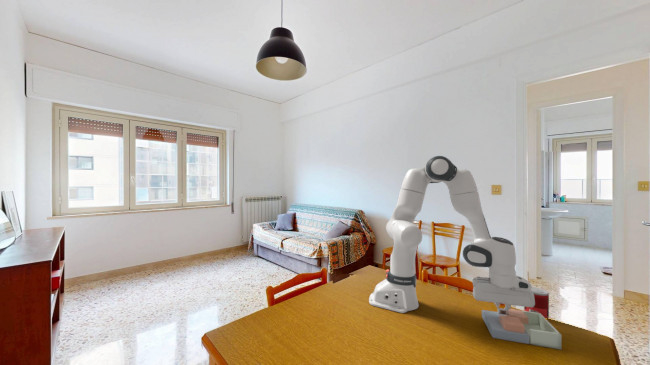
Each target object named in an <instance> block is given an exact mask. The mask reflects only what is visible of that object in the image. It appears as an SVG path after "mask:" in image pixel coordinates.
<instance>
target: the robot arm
mask: <svg viewBox="0 0 650 365" xmlns="http://www.w3.org/2000/svg"><path fill="white" fill-rule="evenodd" d="M405 173H406V174H405V175H404V178H403V180H402V184H401V186H400V190H399V193H398V194H399V195H398V197H397V198H398V199H397V202H396V205H395V207H394V210H393V211H392V214H391V216H390V219H389V220H388V221H387V223H386V225H385V230H386V233H387V235H388V236H389V238H391V239H392V240H393V246H392V252H391V254H390V258H389V259H390V261H389V262H390V266H389V267H390V268H389V269H386V270H385V278H384V279H383V280H382V281H380V282H378V283H377V284H376V285H375V287H374V290H373V292H372V293H370V295H369V298H368V303H369V304H370V305H371V306H373V307H377V308H381V309H385V310H389V311H393V312H396V313H397V312H398V313H400V314H401V313H402V314H405V313H407V312H410V311H413V310H417V309H418V308H419V306H420V304H419V302H418V301H419V300H418V297H417V291H416V290H417V289H416V287H417V275H416V256H417V255H416V254H417V250H418V247H419V245H420V244H421V243H422V240H423V234H422V231H421V229H420V228H419V227H418V226H417V225H416V224H415V223H414V221H415V219H416V217H417V216H418V215H419V213H420V212H421V211H422V207H423V203H424V200H425V197H426V196H425V195H426V192H427V188H428V185H429V184H438V183H444V184H445V185H446V186H447V189H448V194H449V199H450V201H451V205H452V207H453V210H455V211H456V212H457V213H458V214H460V215H462V217H463V216H464V217H465V218H466V219H467V221H468V222H469V225H470V228H471V232H472V235H473V242H471V243H469V244H467V245H465V247H464V248H463V250H462V258H463V259H464V261H465V262H466V263H467V264H469V265H470V266H472V267H475V268H487V269H488V277H486V276H485V277H484V276H482V277H481V276H476V277H474V278H473V279H472V286H473V288H472V296H473V298H474V299H475V301H478V302H487V303H493V304H494V305H495V307H496V309H497V312H498V314H503V315H507V311H508V310H509V309H512V306H517V307H523V308H524V307H534V306H535V299H534V293H533V291H532V290H531V288H532V287H533V286H532V284H531V282H530V281H528V280H527V279H526V278H524V277H522V276H519V275H517V272H516V264H517V256H516V255H517V252H516V247H515V244H514V243H513V242H512V241H511V240H509V239H507V238H504V237H500V236H499V237H497V236H492V237H491V235H490V231H489V228H488V224H487V221H486V217H485V216H484V213H483V212H484V211H483V209H482V208H483V207H482V204H481V200H480V195H479V191H478V186H477V183H476V181H475V178H474V176H473V174H472V173H471V171H470V170H468V169H466V168H458V167H457V166H456V165H455V164H454V163H453V162H452V161H451V160H450V159H449V158H447V157H446V156H443V155H436V156H433V157H431V158H430V159H429V160H428V161H427V162H426V164H425V165H424V167H423V168H416V167H414V168H410V169H409V170H407V172H405ZM501 304H502V305H505V306H504V308H502V307H501V308H500V306H501Z"/></svg>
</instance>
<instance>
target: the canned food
mask: <svg viewBox="0 0 650 365" xmlns="http://www.w3.org/2000/svg"><path fill="white" fill-rule="evenodd" d="M531 290H532V291H533V293H534V299H535V306H534V307H524V306H523V309H524V310H523V311H528V312H536V313H540V314H541V315H542V316H543V317H544V318H547V319H548V320H549V317H550V314H549V310H550V304H549V303H550V296H549V295H550V294H549V291H547V290H545V289H543V288H540V287H536V286H532V288H531Z"/></svg>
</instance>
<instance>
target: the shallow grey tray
mask: <svg viewBox="0 0 650 365" xmlns="http://www.w3.org/2000/svg"><path fill="white" fill-rule="evenodd" d="M499 315H503V314H498V311H493V310H485V309H482V310H481V318H482V320H483V322H484V325H485V326H486V327H487V329H488V332H489V334H490V335H491V337H492V338H493V339H497V340H498V339H499V340H504V341H508V342H509V341H510V342H515V343H522V344H527V345H529V344H530V343H529V334H528V333H527V332H526V331H525V333H520V332H514V331H508V330H504V328H503V327H502V325H501V323H500V322H499ZM503 316H505V315H503Z"/></svg>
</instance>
